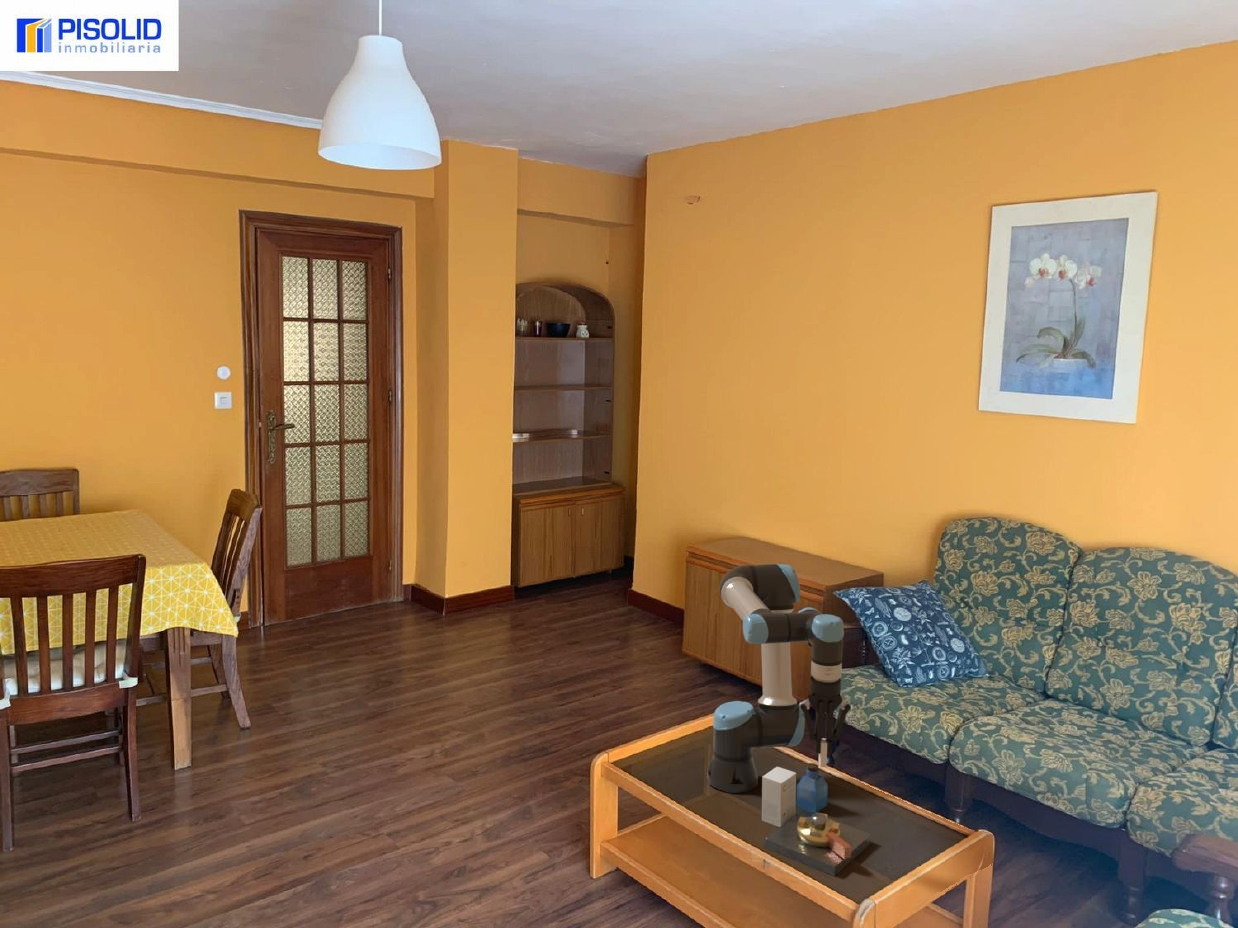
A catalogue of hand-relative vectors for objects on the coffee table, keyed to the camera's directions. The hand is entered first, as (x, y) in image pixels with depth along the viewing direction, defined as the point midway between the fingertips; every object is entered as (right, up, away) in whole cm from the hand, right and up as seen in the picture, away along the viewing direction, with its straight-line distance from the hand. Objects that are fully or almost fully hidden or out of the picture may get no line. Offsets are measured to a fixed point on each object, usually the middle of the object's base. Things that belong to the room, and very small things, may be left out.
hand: (822, 764), depth 237 cm
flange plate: (0, -23, +6) cm, 24 cm away
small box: (-8, -21, +19) cm, 30 cm away
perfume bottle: (+3, -20, +27) cm, 34 cm away
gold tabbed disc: (+2, -21, +3) cm, 21 cm away
